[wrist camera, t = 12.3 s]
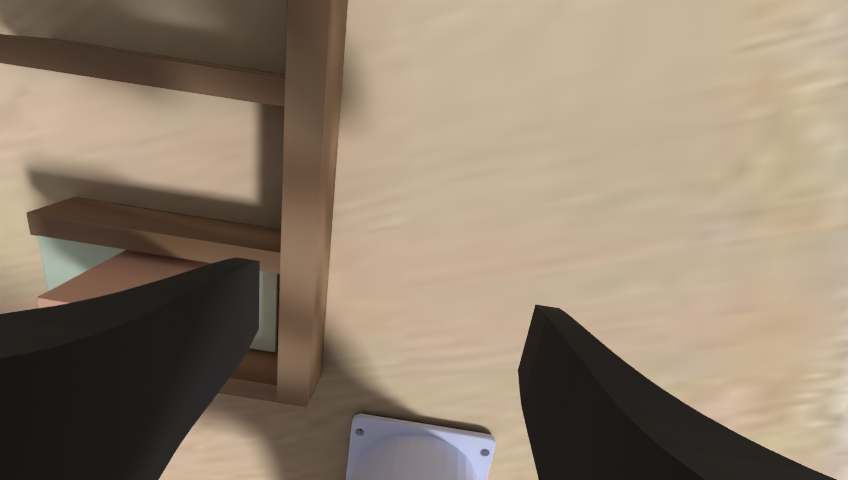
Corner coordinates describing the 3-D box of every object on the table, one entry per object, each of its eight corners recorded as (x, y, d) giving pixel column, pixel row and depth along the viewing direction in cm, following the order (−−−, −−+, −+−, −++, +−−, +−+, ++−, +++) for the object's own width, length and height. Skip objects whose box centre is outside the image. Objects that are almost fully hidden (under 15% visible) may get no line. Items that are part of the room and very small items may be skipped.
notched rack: (321, 374, 24) (306, 406, 21) (59, 332, 24) (16, 360, 22) (356, -120, 16) (339, -153, 14) (-36, -178, 16) (-119, -222, 14)
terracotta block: (228, 322, 23) (154, 403, 17) (152, 310, 23) (54, 386, 17) (227, 251, 21) (145, 315, 16) (146, 239, 21) (36, 297, 16)
